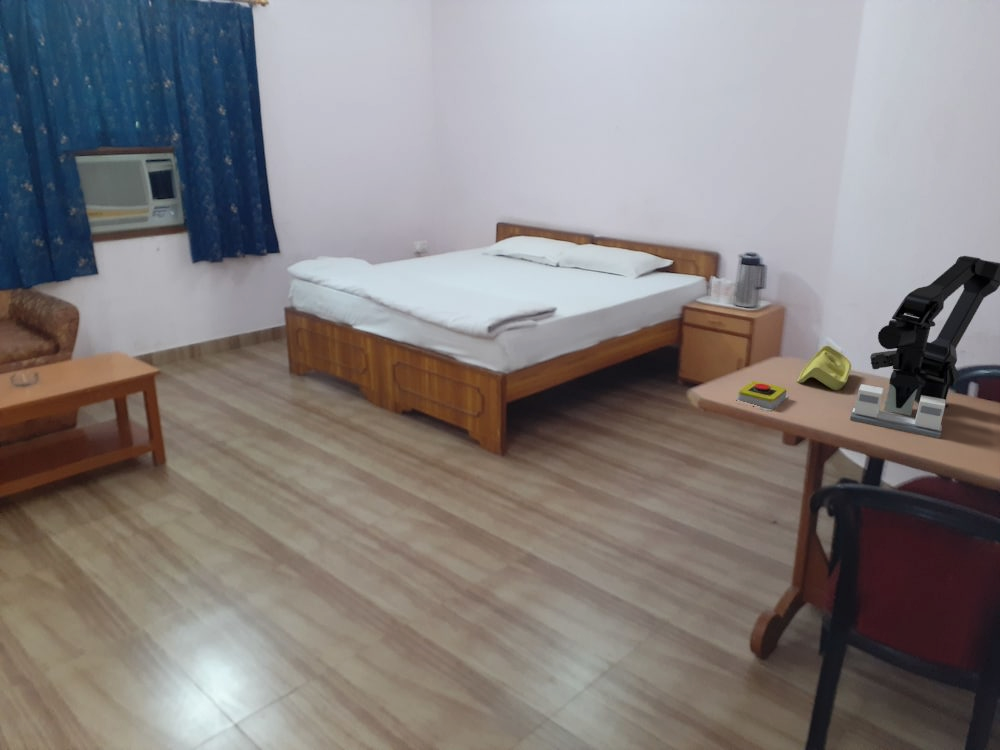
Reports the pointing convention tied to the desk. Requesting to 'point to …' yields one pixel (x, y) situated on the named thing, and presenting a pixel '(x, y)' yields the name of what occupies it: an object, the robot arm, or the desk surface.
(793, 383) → the desk surface
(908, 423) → the rail board
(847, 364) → the plastic component
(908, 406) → the block
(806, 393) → the desk surface
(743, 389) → the emergency button
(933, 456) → the desk surface
